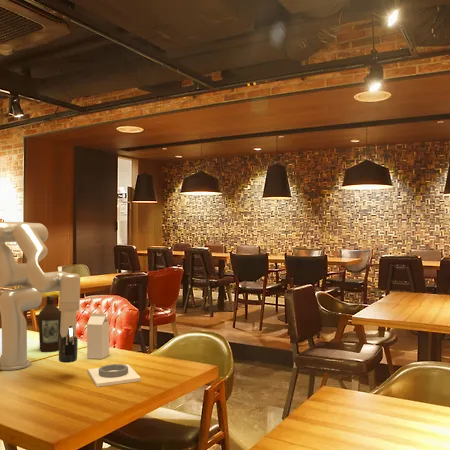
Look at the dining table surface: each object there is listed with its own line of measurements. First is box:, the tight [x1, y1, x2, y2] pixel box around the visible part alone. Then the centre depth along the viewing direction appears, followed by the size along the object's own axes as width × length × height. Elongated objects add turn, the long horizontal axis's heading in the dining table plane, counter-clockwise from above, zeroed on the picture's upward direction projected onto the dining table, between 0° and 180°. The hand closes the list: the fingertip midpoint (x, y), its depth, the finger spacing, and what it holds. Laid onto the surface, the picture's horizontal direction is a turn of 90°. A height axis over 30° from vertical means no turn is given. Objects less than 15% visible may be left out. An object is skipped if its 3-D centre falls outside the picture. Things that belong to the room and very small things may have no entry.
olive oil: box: [37, 295, 61, 353], centre depth 231 cm, size 11×11×25 cm
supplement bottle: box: [58, 329, 79, 364], centre depth 189 cm, size 7×7×12 cm
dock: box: [87, 363, 142, 388], centre depth 188 cm, size 16×20×3 cm
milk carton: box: [86, 313, 110, 360], centre depth 217 cm, size 7×7×19 cm
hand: (68, 352), depth 189 cm, fingers closed on supplement bottle, 6 cm apart
